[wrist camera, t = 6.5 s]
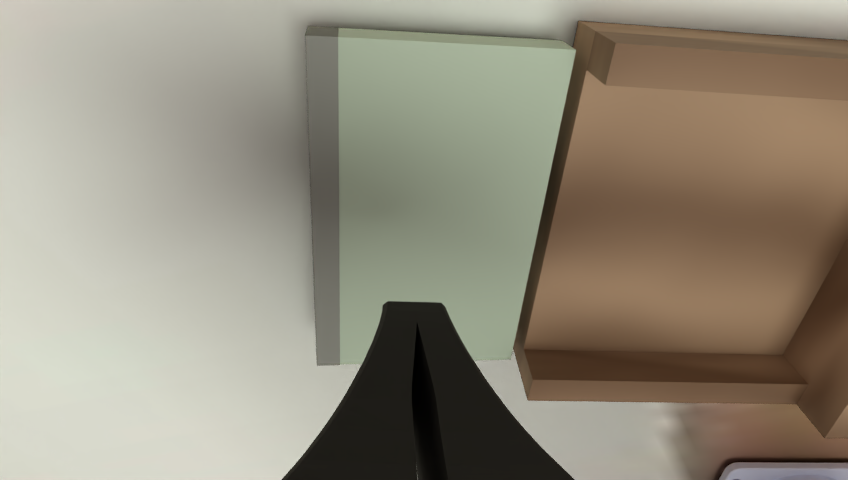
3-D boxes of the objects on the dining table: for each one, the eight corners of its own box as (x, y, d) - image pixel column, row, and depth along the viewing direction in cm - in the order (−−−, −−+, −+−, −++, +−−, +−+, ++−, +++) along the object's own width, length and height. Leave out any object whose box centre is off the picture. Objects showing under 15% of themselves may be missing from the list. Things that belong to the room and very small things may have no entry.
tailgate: (510, 359, 20) (316, 365, 19) (502, 337, 21) (318, 341, 20) (576, 50, 14) (305, 35, 13) (560, 40, 15) (308, 25, 14)
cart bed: (777, 348, 22) (856, 438, 19) (511, 342, 22) (537, 435, 18) (941, 47, 16) (1111, 89, 12) (578, 20, 15) (640, 57, 12)
